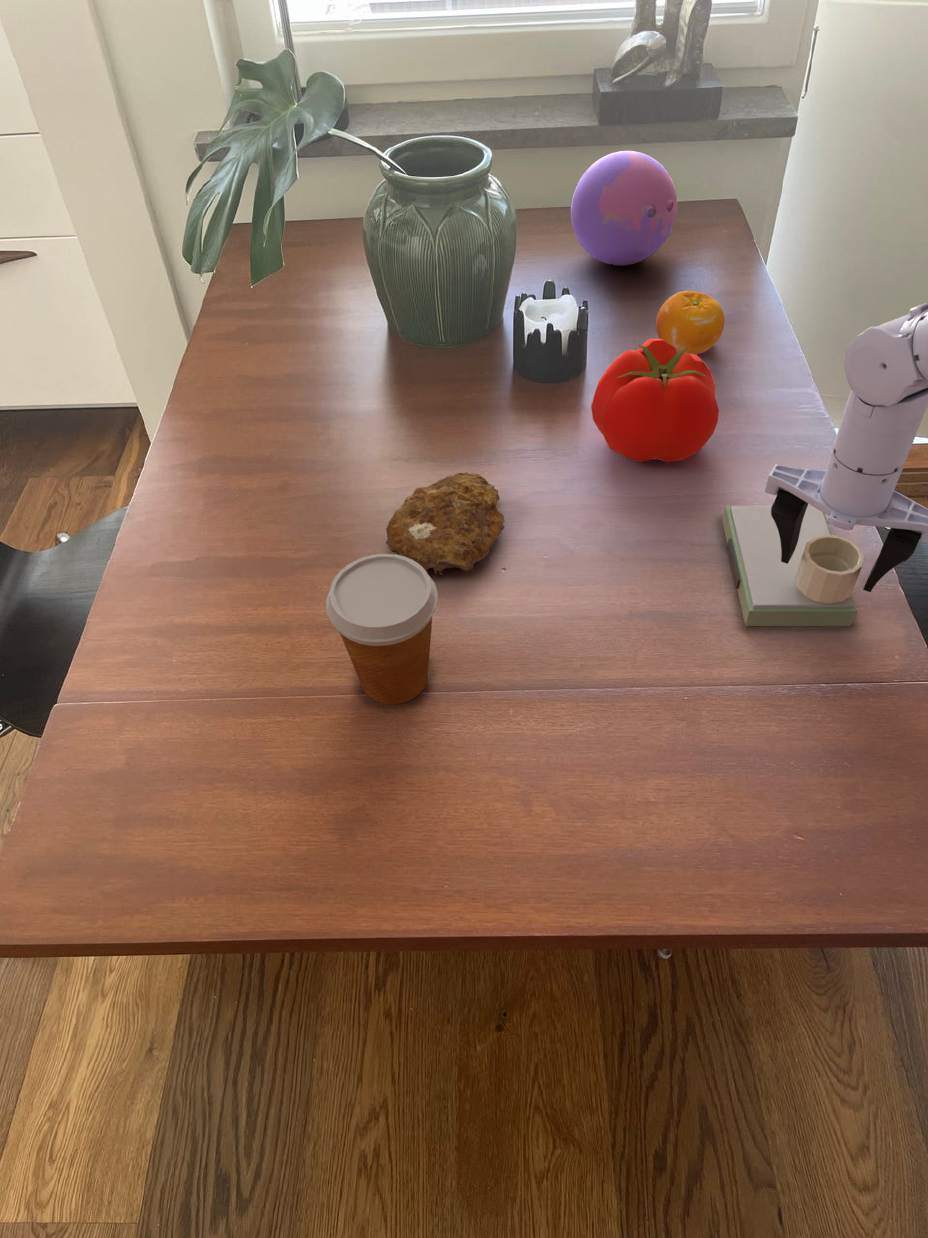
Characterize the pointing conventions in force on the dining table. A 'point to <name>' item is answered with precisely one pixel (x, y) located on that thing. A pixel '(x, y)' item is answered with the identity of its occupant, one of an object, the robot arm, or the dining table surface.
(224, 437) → the dining table surface
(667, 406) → the tomato
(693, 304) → the fruit
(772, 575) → the scale
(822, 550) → the small beige cup
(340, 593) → the disposable coffee cup
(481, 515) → the decorative rock
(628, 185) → the decorative ball
